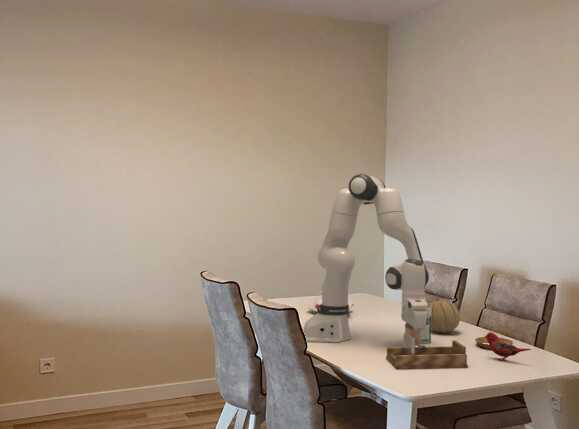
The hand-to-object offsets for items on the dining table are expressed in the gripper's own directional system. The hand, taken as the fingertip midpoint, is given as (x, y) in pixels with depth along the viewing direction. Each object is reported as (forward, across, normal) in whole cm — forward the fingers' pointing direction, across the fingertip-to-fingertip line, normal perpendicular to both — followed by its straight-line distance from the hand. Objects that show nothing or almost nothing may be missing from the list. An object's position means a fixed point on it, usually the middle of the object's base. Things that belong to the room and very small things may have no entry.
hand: (412, 336), depth 246 cm
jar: (+6, 0, 0) cm, 6 cm away
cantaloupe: (+6, -32, +24) cm, 40 cm away
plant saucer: (+7, -6, +36) cm, 37 cm away
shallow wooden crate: (+6, +16, 0) cm, 17 cm away
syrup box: (+6, -16, +9) cm, 19 cm away
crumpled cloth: (+6, -77, -17) cm, 79 cm away
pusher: (+5, +16, -4) cm, 17 cm away
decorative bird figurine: (+6, +16, +31) cm, 35 cm away
